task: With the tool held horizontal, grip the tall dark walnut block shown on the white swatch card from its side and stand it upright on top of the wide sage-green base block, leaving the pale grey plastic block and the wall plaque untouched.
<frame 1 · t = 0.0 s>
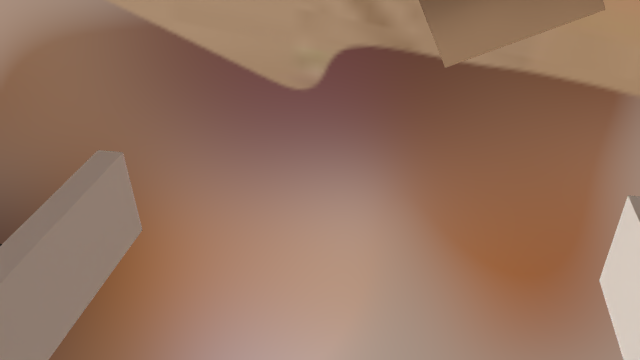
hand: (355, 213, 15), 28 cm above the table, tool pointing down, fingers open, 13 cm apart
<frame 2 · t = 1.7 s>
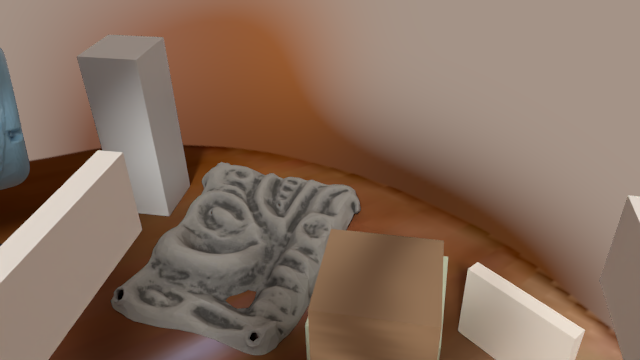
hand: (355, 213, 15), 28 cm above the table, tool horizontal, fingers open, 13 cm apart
grey plastic block: (155, 198, 65), on the table
wall plaque: (240, 253, 58), on the table
sage base block: (379, 331, 48), on the table
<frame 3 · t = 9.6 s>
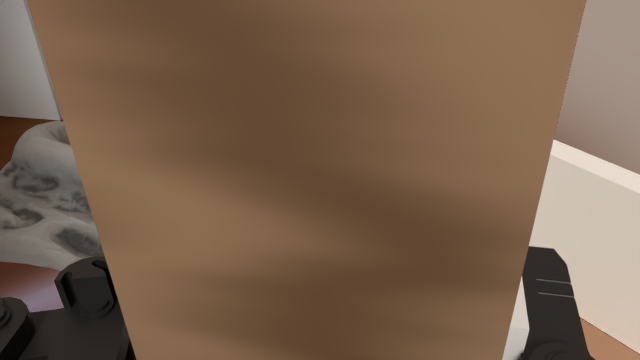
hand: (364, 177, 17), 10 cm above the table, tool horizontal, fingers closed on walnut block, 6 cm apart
swatch card: (589, 311, 25), on the table
grey plastic block: (47, 100, 45), on the table
wall plaque: (154, 164, 38), on the table
when the fingers open (16 cm above the table, at t = 15.1 s): walnut block drops 1 cm, resting on sage base block.
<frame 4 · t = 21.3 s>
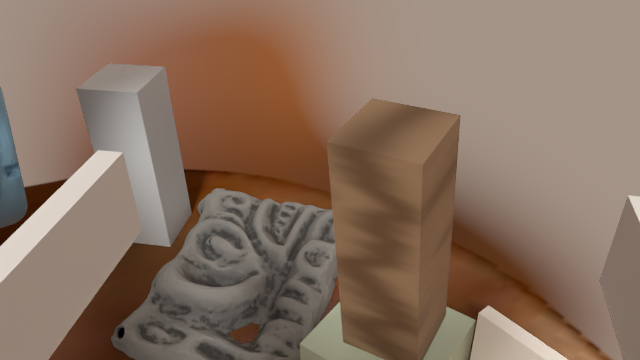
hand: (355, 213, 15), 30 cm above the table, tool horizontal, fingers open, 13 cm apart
grey plastic block: (156, 226, 64), on the table
wall plaque: (240, 283, 57), on the table
walnut block: (395, 328, 44), point 5 cm above the table, touching sage base block
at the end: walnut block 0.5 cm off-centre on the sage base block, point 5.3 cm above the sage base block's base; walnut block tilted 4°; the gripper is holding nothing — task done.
